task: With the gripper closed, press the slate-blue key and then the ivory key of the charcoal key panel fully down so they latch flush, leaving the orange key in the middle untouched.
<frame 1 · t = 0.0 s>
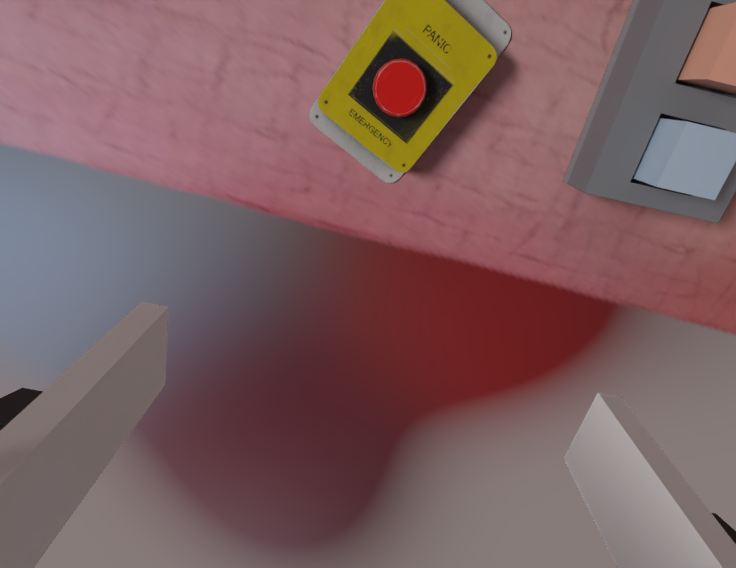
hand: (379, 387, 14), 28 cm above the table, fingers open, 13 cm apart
blue key: (685, 158, 32), point 6 cm above the table, slide at 0.0 cm
emergency button: (405, 77, 36), on the table
key panel: (685, 56, 35), on the table
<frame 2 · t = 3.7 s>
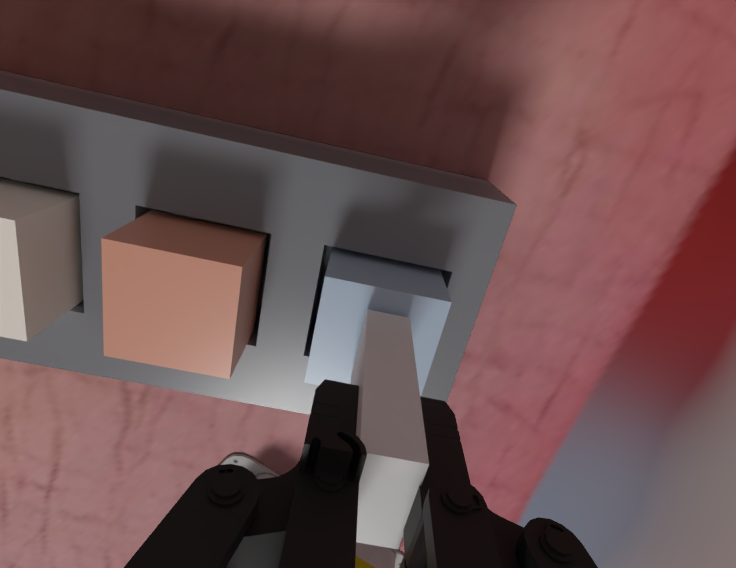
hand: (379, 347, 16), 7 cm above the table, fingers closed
blue key: (374, 320, 18), point 5 cm above the table, slide at 0.6 cm, touching gripper
emergency button: (289, 535, 31), on the table
key panel: (232, 243, 22), on the table
orange key: (189, 291, 17), point 6 cm above the table, slide at 0.0 cm
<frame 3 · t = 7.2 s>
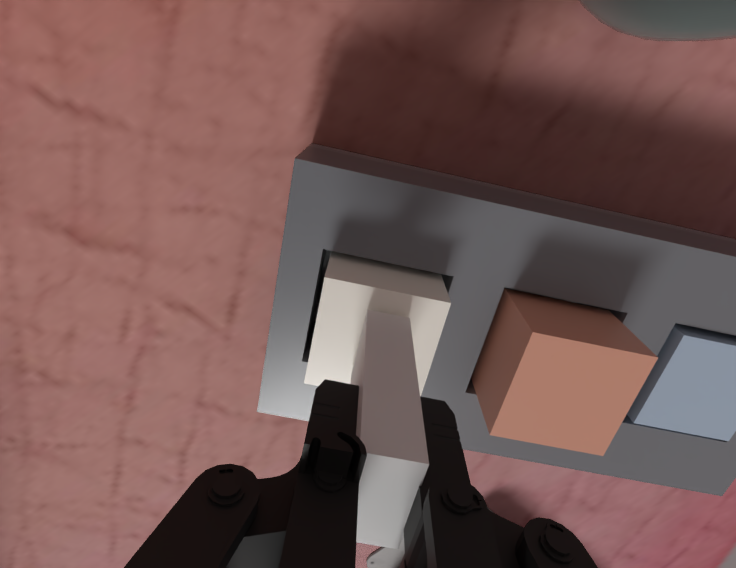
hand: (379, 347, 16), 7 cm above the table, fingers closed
blue key: (681, 366, 20), point 3 cm above the table, slide at 2.5 cm
key panel: (512, 305, 22), on the table
ivory key: (374, 321, 18), point 5 cm above the table, slide at 1.0 cm, touching gripper
orange key: (552, 369, 17), point 6 cm above the table, slide at 0.0 cm
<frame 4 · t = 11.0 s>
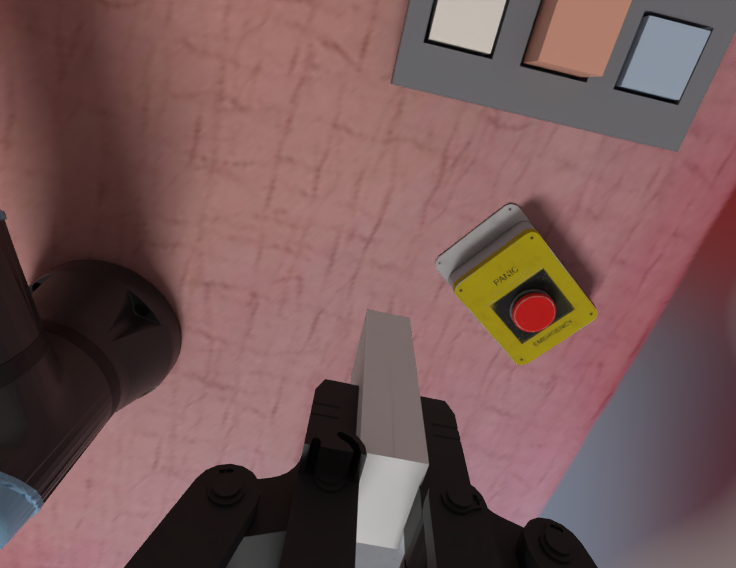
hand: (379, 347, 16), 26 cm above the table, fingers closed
blue key: (651, 60, 33), point 3 cm above the table, slide at 2.5 cm
chinaware: (358, 499, 56), on the table
emergency button: (514, 285, 44), on the table
key panel: (544, 41, 35), on the table
ivory key: (465, 13, 32), point 3 cm above the table, slide at 2.5 cm
orange key: (572, 33, 30), point 6 cm above the table, slide at 0.0 cm
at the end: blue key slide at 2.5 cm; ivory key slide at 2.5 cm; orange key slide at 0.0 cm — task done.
